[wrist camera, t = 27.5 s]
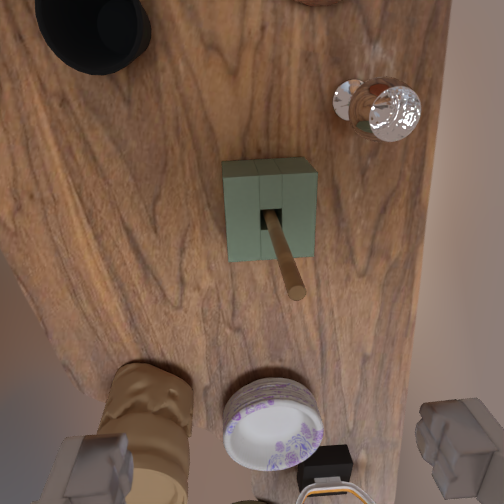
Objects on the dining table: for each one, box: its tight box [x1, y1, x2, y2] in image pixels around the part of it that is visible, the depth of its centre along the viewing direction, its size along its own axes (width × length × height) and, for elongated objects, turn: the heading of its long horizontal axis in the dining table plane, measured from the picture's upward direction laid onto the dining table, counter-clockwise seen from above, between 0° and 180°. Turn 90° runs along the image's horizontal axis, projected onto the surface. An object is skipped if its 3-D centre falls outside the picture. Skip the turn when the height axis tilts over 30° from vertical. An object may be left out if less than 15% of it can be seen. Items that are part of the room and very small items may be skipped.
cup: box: [35, 0, 151, 75], centre depth 34 cm, size 8×8×12 cm
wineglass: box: [333, 76, 421, 142], centre depth 39 cm, size 6×6×12 cm
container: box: [97, 363, 193, 504], centre depth 53 cm, size 13×13×18 cm
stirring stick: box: [262, 209, 306, 301], centre depth 39 cm, size 1×1×22 cm
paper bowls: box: [223, 378, 324, 471], centre depth 61 cm, size 15×15×8 cm
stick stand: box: [222, 157, 318, 262], centre depth 46 cm, size 10×10×7 cm
